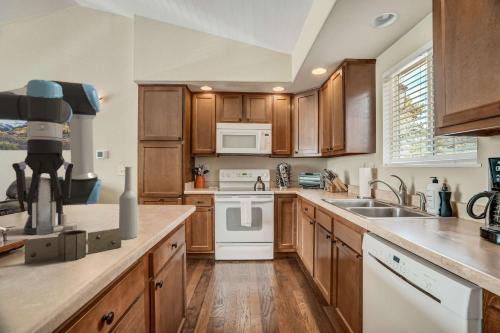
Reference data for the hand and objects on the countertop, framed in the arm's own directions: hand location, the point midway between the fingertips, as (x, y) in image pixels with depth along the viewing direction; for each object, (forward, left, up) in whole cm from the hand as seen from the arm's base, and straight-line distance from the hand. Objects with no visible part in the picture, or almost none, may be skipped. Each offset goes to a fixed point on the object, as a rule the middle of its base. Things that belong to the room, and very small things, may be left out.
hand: (45, 225), depth 71 cm
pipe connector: (-32, -1, -12) cm, 34 cm away
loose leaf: (-11, +14, -12) cm, 21 cm away
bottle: (-27, +21, -12) cm, 36 cm away
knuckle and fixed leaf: (-9, +1, -12) cm, 15 cm away
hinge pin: (0, 0, -2) cm, 2 cm away
